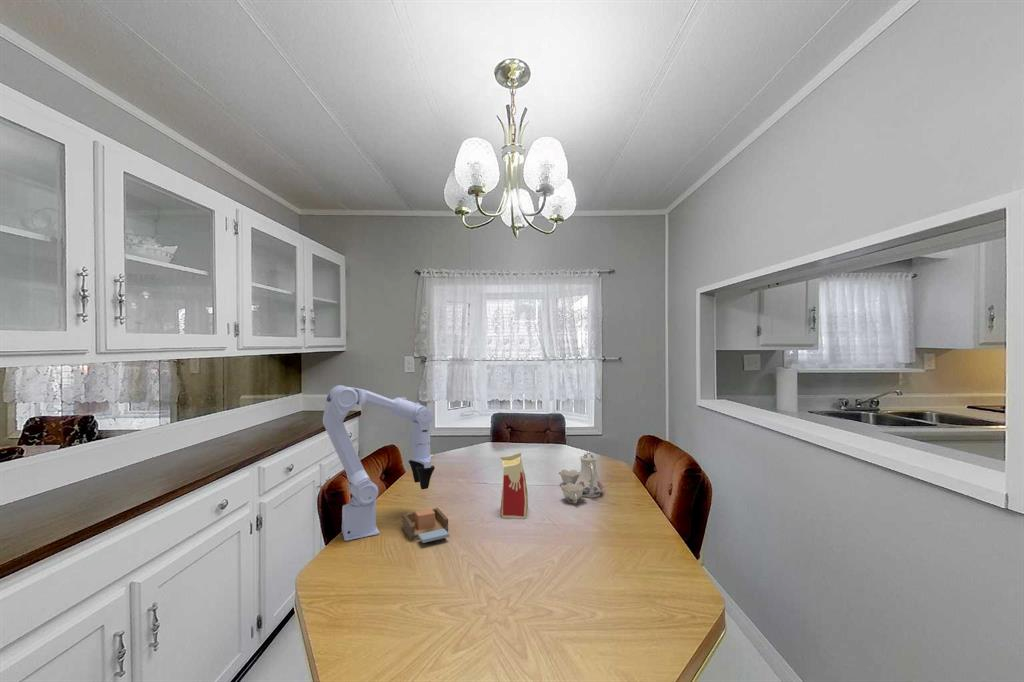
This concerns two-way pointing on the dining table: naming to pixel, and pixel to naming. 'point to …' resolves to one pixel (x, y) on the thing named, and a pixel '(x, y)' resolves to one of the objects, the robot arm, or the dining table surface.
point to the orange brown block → (424, 519)
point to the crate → (413, 532)
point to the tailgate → (433, 535)
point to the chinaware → (582, 480)
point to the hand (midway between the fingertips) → (421, 485)
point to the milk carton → (514, 488)
